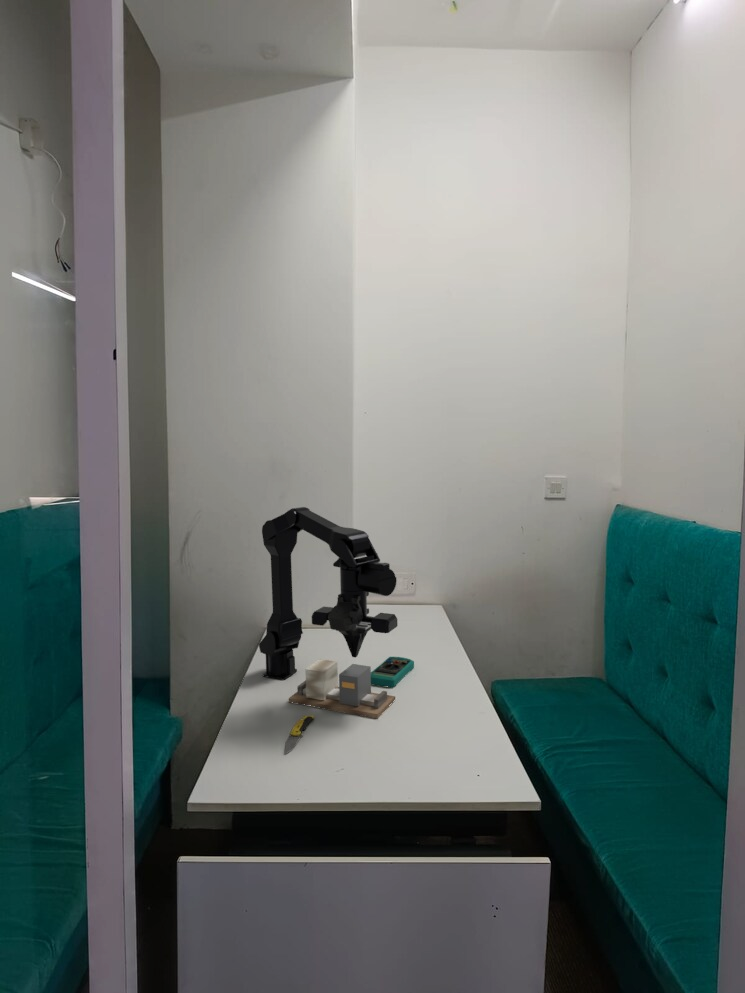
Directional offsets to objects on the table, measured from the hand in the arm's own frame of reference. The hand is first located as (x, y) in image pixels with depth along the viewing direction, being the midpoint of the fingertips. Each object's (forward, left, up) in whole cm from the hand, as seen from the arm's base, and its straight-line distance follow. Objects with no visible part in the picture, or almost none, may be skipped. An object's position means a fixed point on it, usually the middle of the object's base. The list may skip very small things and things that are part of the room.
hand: (354, 656), depth 145 cm
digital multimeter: (+1, +18, -12) cm, 22 cm away
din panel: (-3, 0, -11) cm, 11 cm away
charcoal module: (0, 0, -10) cm, 10 cm away
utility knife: (-4, -18, -12) cm, 22 cm away
